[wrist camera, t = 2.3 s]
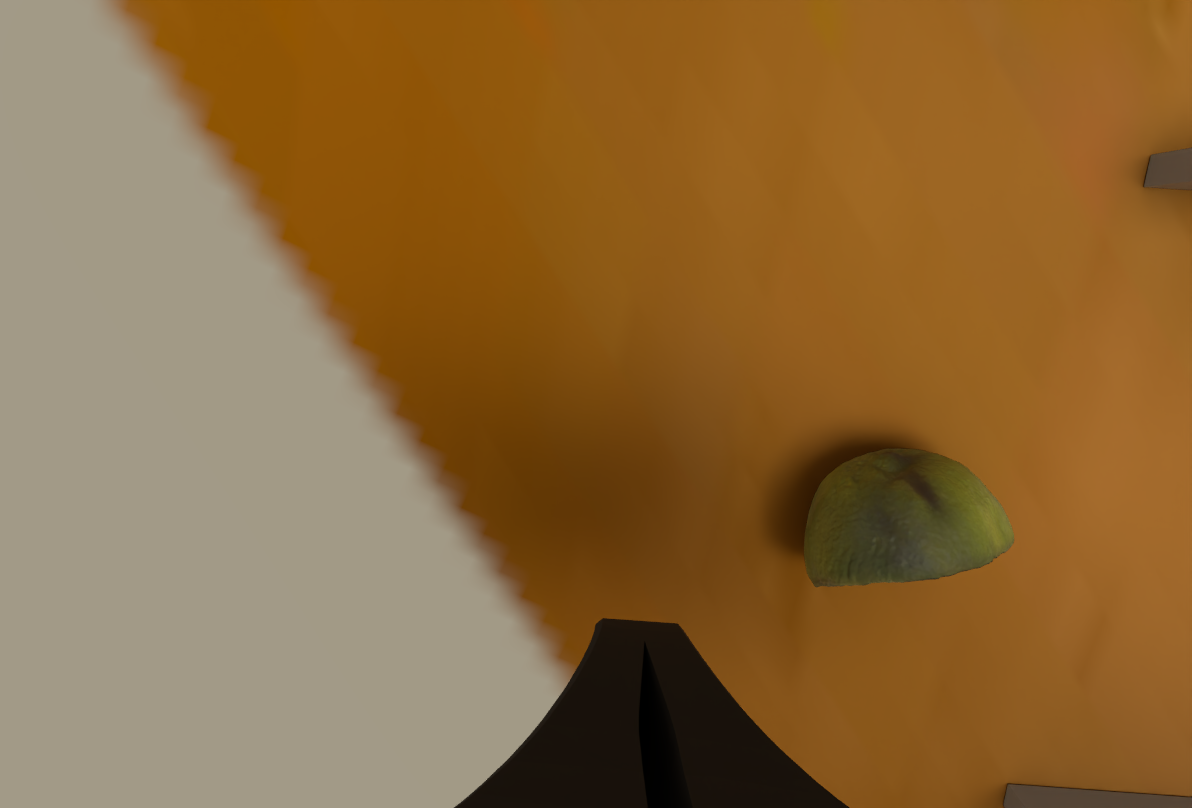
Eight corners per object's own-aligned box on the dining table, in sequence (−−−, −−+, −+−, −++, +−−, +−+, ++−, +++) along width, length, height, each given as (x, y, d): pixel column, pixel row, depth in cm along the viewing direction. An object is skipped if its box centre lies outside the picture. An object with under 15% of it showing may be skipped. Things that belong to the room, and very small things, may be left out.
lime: (976, 485, 20) (1093, 560, 15) (861, 602, 21) (936, 708, 16) (864, 390, 20) (947, 436, 15) (750, 514, 20) (793, 597, 16)
